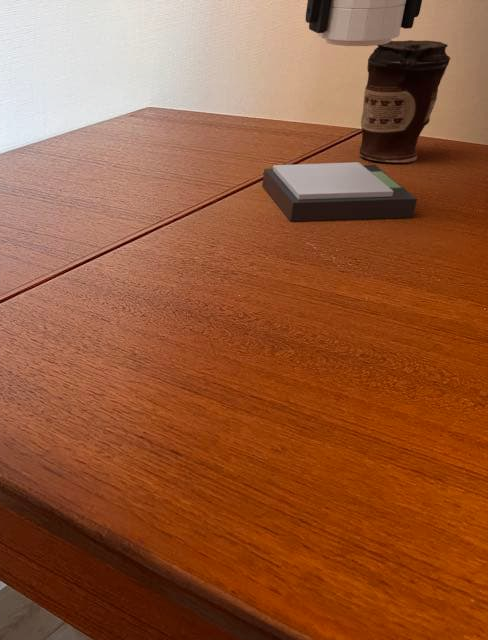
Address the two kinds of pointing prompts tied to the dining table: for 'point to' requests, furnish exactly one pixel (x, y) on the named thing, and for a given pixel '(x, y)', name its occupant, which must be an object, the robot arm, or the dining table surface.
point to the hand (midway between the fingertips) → (359, 27)
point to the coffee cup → (400, 97)
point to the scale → (337, 192)
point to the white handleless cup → (363, 22)
